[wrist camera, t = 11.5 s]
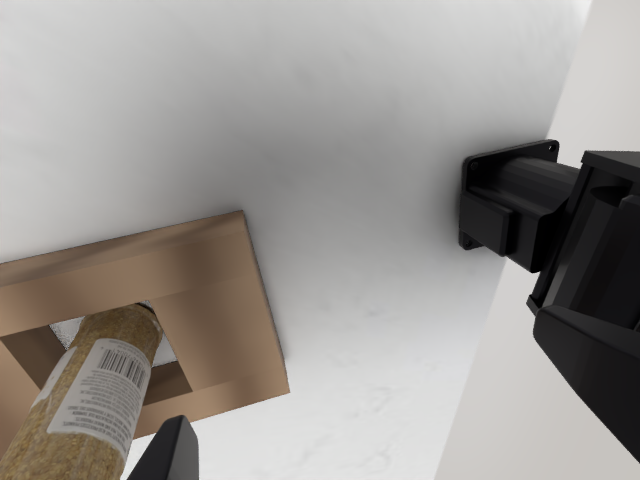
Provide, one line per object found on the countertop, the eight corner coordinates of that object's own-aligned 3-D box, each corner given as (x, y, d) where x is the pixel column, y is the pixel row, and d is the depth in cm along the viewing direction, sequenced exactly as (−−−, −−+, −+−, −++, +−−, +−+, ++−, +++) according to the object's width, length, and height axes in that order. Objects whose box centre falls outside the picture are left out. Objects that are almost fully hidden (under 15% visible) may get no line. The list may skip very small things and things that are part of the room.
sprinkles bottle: (65, 318, 20) (-194, 682, 8) (138, 287, 20) (-6, 597, 8) (113, 367, 22) (-32, 710, 10) (179, 339, 22) (113, 643, 10)
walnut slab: (242, 210, 19) (243, 231, 17) (284, 359, 25) (289, 392, 22) (-114, 289, 17) (-179, 328, 14) (20, 434, 22) (-9, 481, 20)
